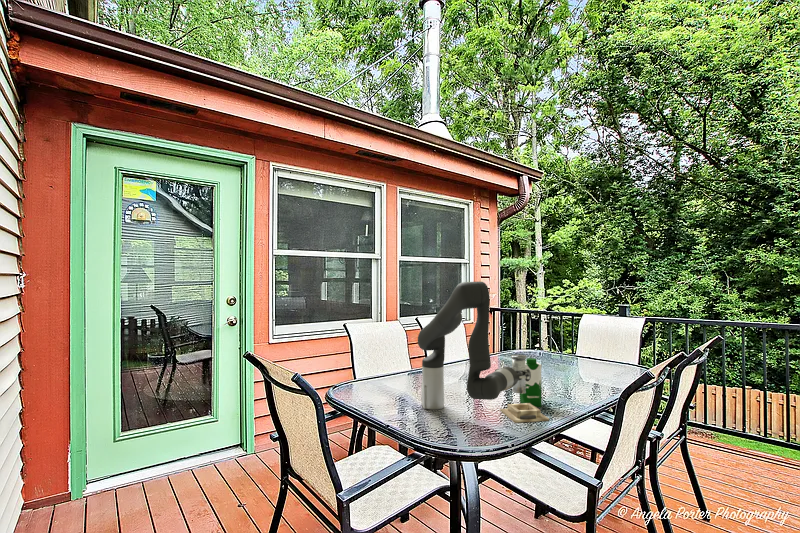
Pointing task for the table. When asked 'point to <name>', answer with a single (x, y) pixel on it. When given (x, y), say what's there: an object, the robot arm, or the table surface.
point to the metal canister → (519, 364)
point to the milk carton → (533, 384)
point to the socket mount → (524, 413)
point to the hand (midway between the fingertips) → (521, 370)
